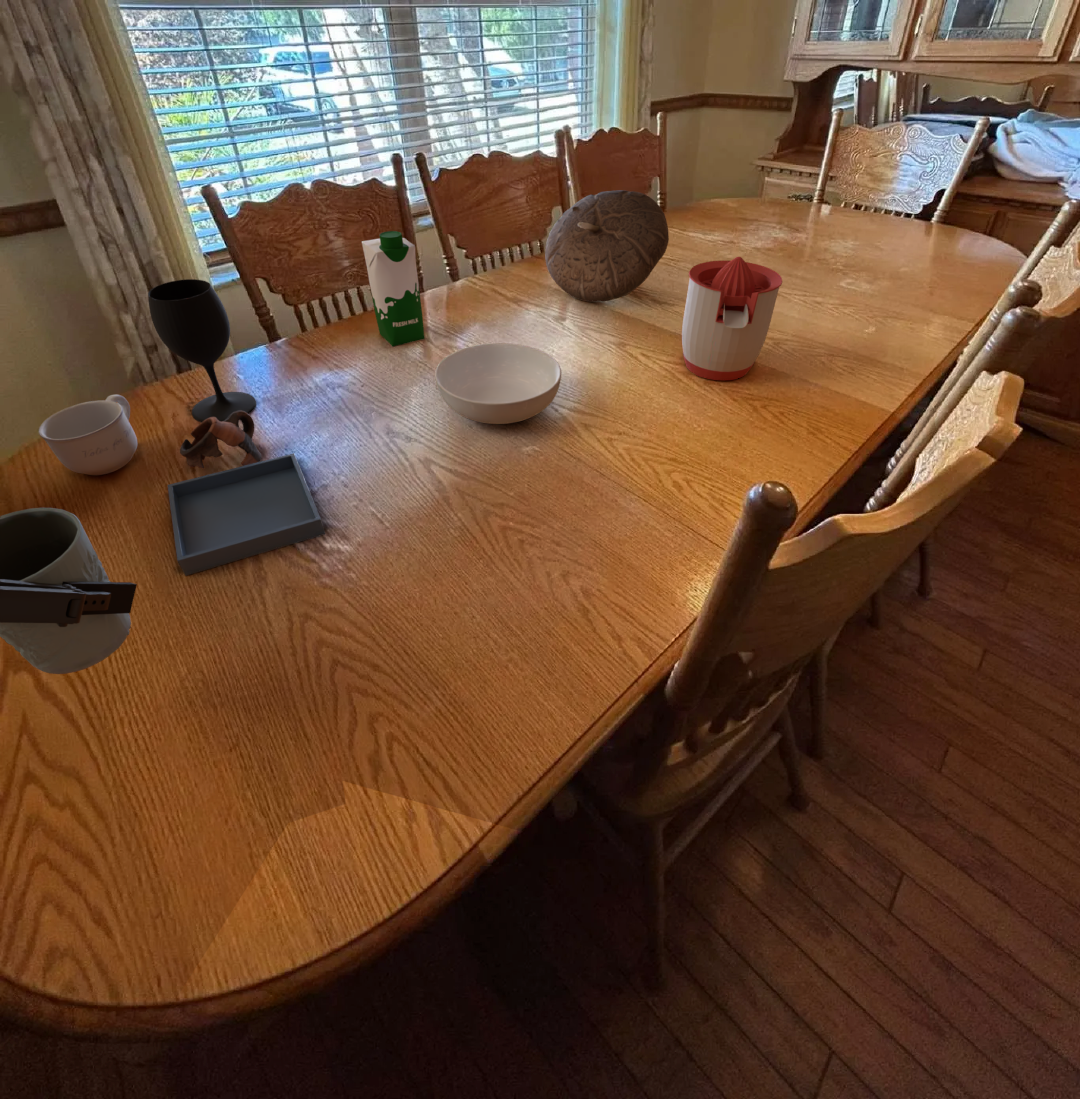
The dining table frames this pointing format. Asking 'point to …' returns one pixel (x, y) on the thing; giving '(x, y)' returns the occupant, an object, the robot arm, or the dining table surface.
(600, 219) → the brown fungus
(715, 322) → the citrus juicer
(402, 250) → the milk carton
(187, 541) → the dark gray rectangular tray
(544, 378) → the serving bowl
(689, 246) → the dining table surface
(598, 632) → the dining table surface
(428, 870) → the dining table surface
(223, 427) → the broken clay jug
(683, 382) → the dining table surface
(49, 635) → the gray ceramic cup
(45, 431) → the teacup
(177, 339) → the wine glass
